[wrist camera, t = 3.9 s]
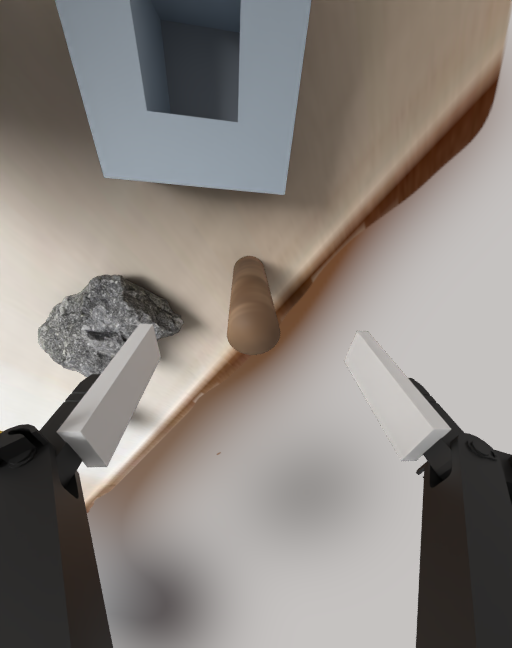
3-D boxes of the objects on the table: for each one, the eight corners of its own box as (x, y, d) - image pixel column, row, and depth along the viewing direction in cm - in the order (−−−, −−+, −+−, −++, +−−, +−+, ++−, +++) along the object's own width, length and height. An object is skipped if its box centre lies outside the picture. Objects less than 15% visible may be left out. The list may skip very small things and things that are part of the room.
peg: (243, 291, 25) (243, 361, 15) (227, 265, 23) (216, 327, 13) (269, 277, 24) (288, 342, 14) (255, 250, 22) (265, 303, 12)
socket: (273, 191, 19) (284, 195, 14) (141, 179, 18) (104, 177, 13) (299, -41, 12) (337, -186, 8) (91, -83, 11) (-25, -286, 6)
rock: (40, 324, 25) (26, 405, 21) (42, 241, 18) (22, 336, 13) (151, 330, 34) (159, 388, 29) (182, 276, 27) (199, 341, 22)
